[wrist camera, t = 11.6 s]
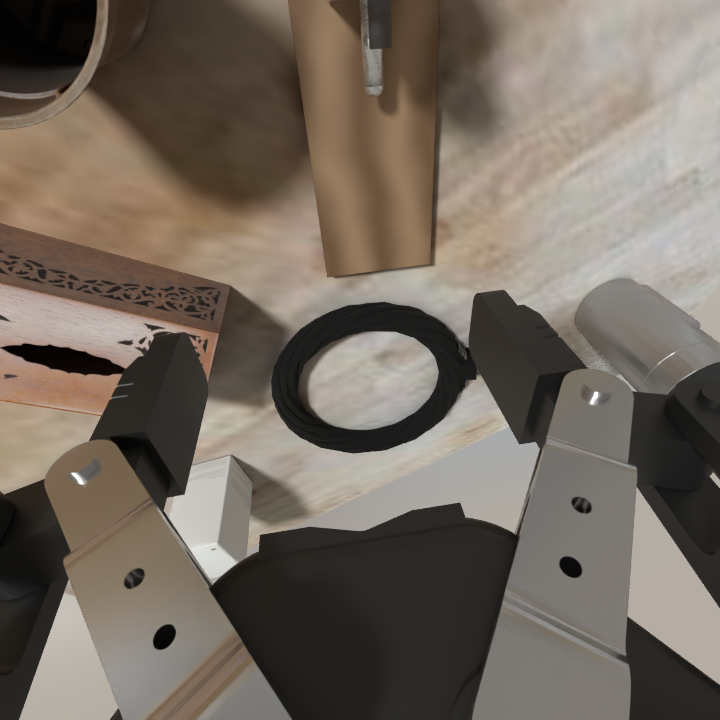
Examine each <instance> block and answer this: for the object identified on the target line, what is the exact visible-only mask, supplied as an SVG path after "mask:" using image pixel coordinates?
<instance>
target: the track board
mask: <svg viewBox="0 0 720 720" xmlns="http://www.w3.org/2000/svg"><path fill="white" fill-rule="evenodd" d="M288 4H289V11H290V18H291V25H292V32H293V39H294V46H295V53H296V61H297V68H298V75H299V82H300V89H301V96H302V103H303V110H304V117H305V124H306V131H307V138H308V145H309V152H310V159H311V166H312V173H313V180H314V187H315V194H316V201H317V208H318V215H319V222H320V230H321V237H322V244H323V251H324V258H325V265H326V272H327V277H333V276H341V275H349V274H356V273H364V272H372V271H379V270H387V269H395V268H402V267H410V266H418V265H425V264H430V252H431V226H432V199H433V173H434V146H435V119H436V93H437V66H438V39H439V13H440V0H367V9H368V29H369V49H382V48H383V78H384V88H383V91H382V93H381V94H380V95H379V96H378V97H370V96H369V95H367V93H366V92H365V88H364V74H363V56H362V39H361V22H360V0H339V1H328V2H327V0H288Z"/></svg>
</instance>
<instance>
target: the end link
mask: <svg viewBox="0 0 720 720" xmlns="http://www.w3.org/2000/svg"><path fill="white" fill-rule="evenodd" d="M328 1H339V0H327V2H328ZM360 22H361V39H362V56H363V74H364V88H365V92H366V93H367V95H369V96H370V97H378V96H379V95H380V94H381V93H382V91H383V88H384V78H383V48H382V49H369V29H368V9H367V0H360Z"/></svg>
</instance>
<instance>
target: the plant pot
mask: <svg viewBox="0 0 720 720" xmlns="http://www.w3.org/2000/svg"><path fill="white" fill-rule="evenodd" d="M151 4H152V0H0V130H3V129H15V128H22V127H27V126H31V125H34V124H37V123H40V122H43V121H45V120H47V119H49V118H51V117H53V116H55V115H57V114H59V113H60V112H62V111H63V110H65V109H66V108H67V107H69V106H70V105H71V104H72V103H73V102H74V101H76V100H77V99H78V98H79V96H80V95H81V94H82V93H83V92H84V91H85V89H86V88H87V86H88V85H89V83H90V82H91V80H92V78H93V77H94V75H95V73H96V72H97V71H98V69H100V68H101V67H103V66H105V65H107V64H108V63H110V62H112V61H114V60H117V59H119V58H121V57H123V56H124V55H126V54H127V53H129V52H130V51H131V50H132V49H133V48H134V47H135V46H136V45H137V43H138V42H139V41H140V39H141V38H142V35H143V32H144V30H145V27H146V24H147V21H148V17H149V13H150V9H151ZM86 41H92V45H91V48H90V49H89V48H85V47H84V44H85V42H86Z"/></svg>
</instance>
